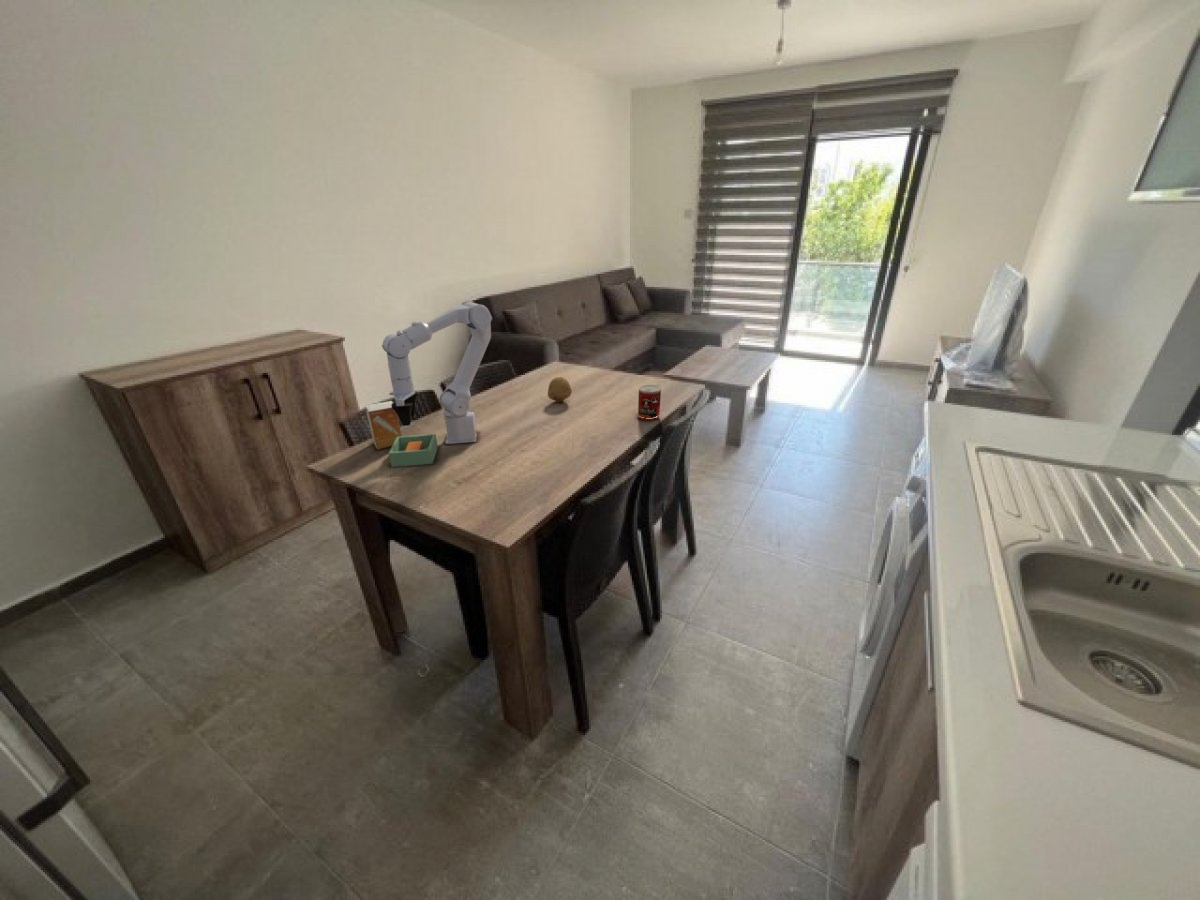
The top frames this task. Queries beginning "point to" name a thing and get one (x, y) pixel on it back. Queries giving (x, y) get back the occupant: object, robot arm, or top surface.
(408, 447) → the packet
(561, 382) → the natural sponge
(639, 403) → the canned food
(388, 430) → the small box
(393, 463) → the green open-top bin
